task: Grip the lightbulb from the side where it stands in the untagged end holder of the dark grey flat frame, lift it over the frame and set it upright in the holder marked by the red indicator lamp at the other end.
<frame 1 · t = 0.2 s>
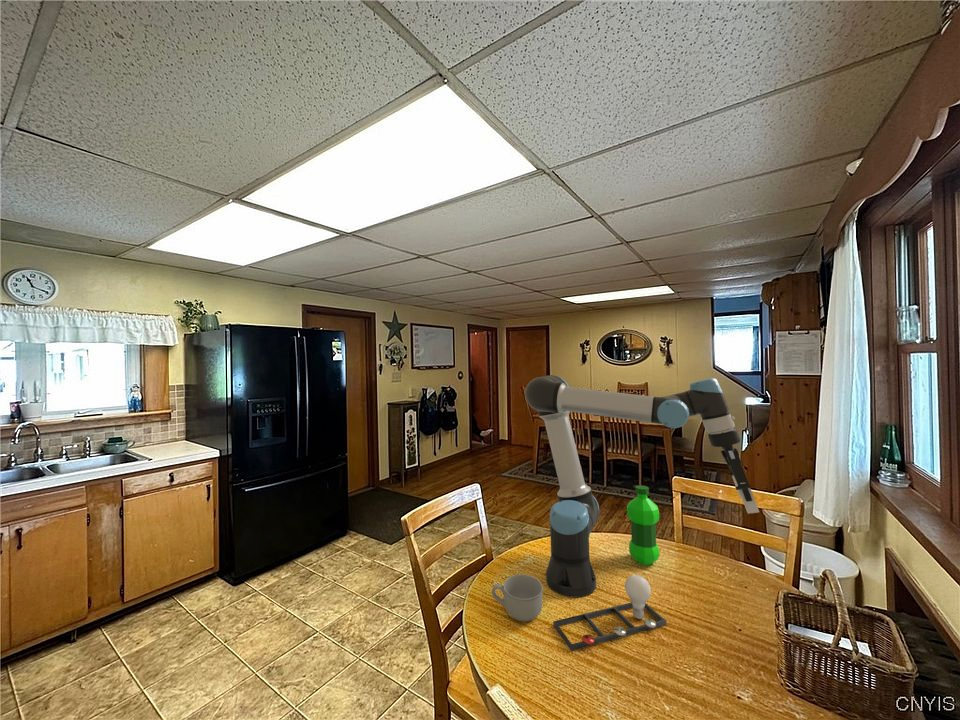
hand: (749, 504, 107), 27 cm above the table, fingers open, 13 cm apart
teacup: (517, 614, 103), on the table
lightbulb: (638, 618, 100), resting in dark grey flat frame
dark grey flat frame: (609, 625, 97), on the table
plastic bottle: (644, 561, 128), on the table
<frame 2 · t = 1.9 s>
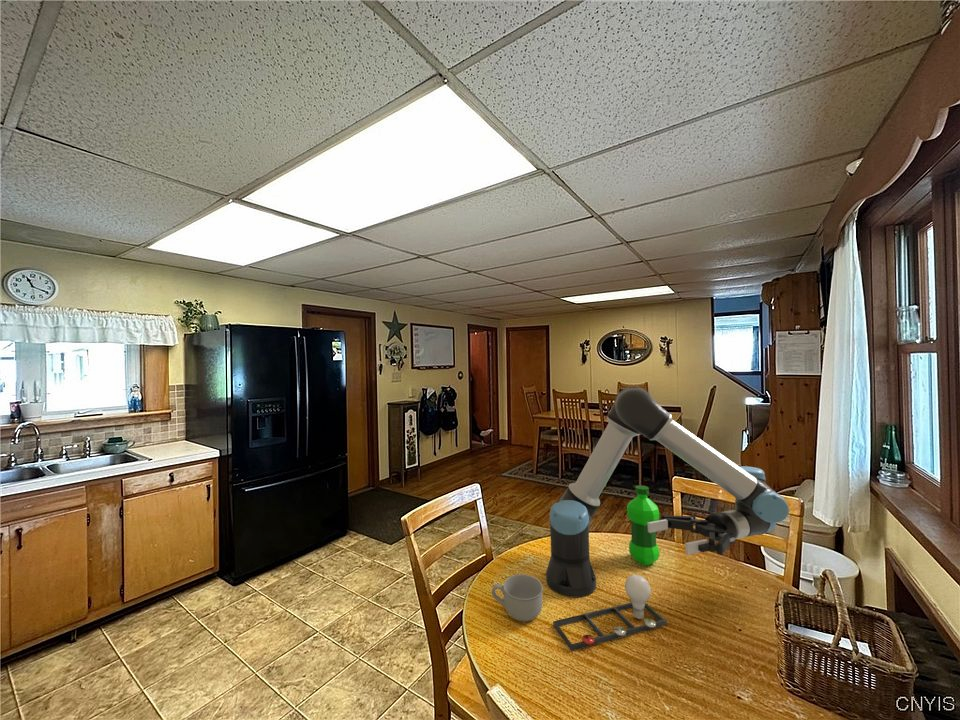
hand: (666, 537, 103), 20 cm above the table, fingers open, 13 cm apart
nothing on the table moved.
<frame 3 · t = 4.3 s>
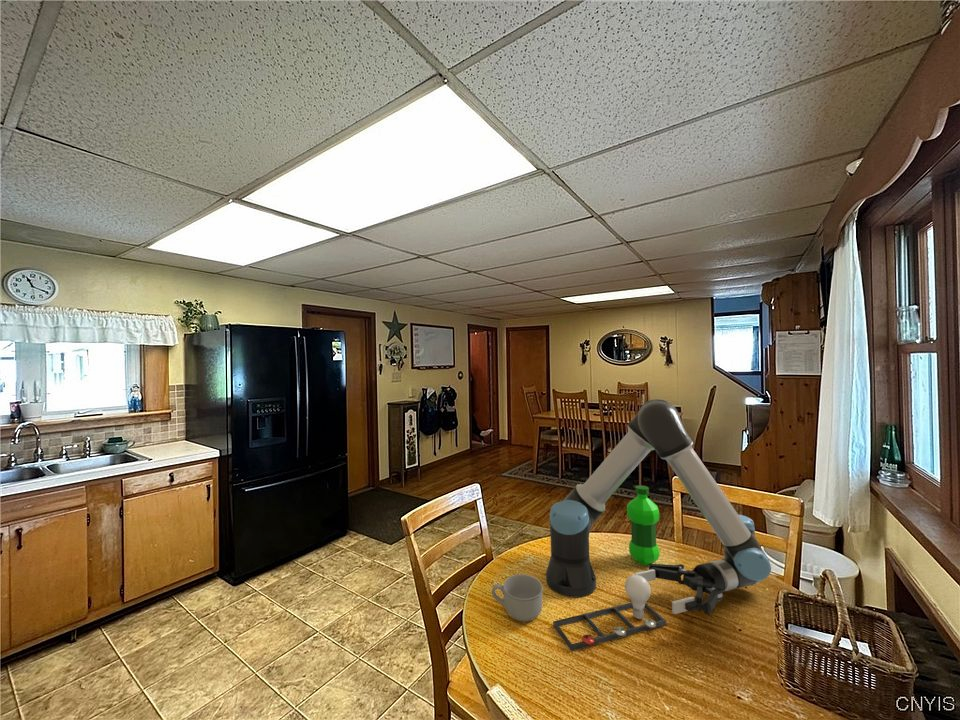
hand: (653, 592, 101), 6 cm above the table, fingers open, 13 cm apart
nothing on the table moved.
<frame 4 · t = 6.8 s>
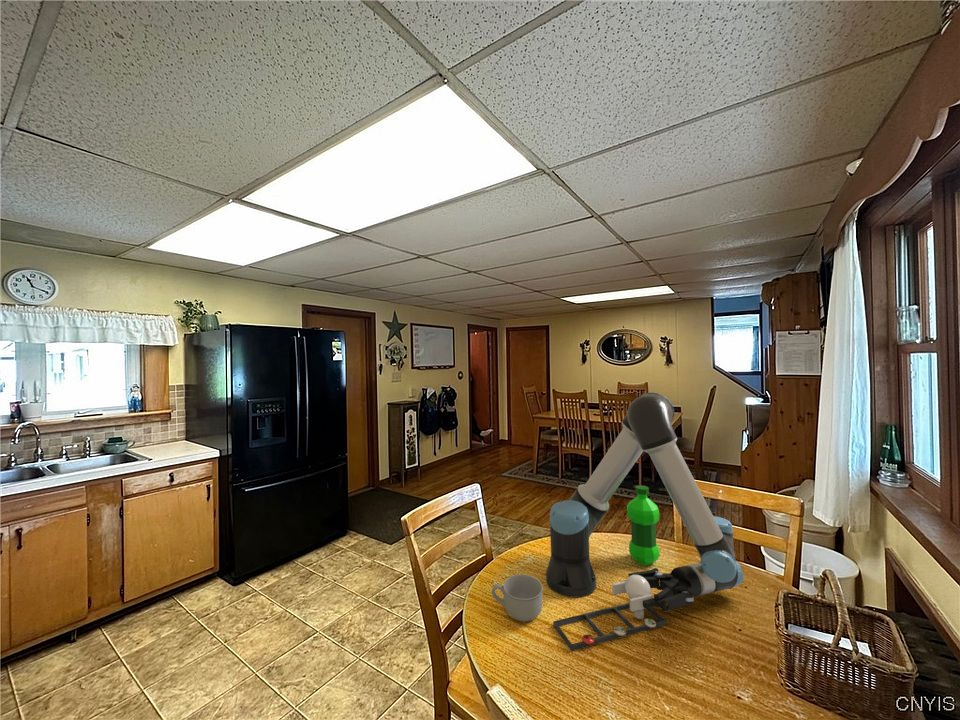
hand: (621, 597, 99), 7 cm above the table, fingers closed on lightbulb, 6 cm apart
lightbulb: (638, 618, 100), resting in dark grey flat frame, touching gripper
everything else where it was.
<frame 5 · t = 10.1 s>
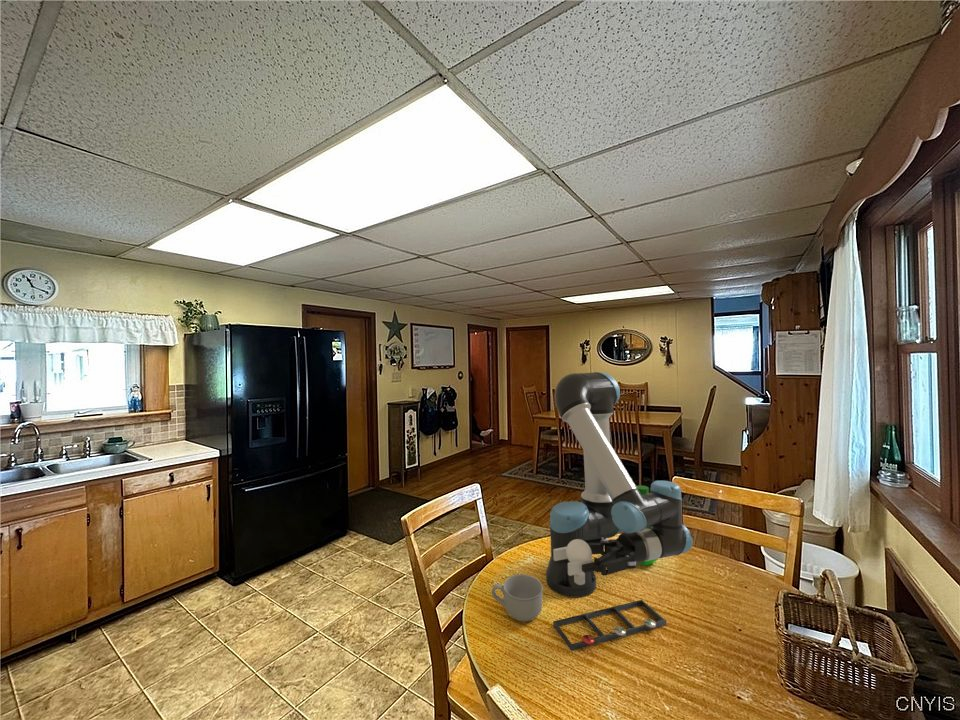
hand: (561, 561, 93), 19 cm above the table, fingers closed on lightbulb, 6 cm apart
lightbulb: (579, 585, 95), point 12 cm above the table, touching gripper
everything else where it was.
when the fingers open (8 cm above the table, at t = 13.6 s): lightbulb drops 1 cm, resting in dark grey flat frame.
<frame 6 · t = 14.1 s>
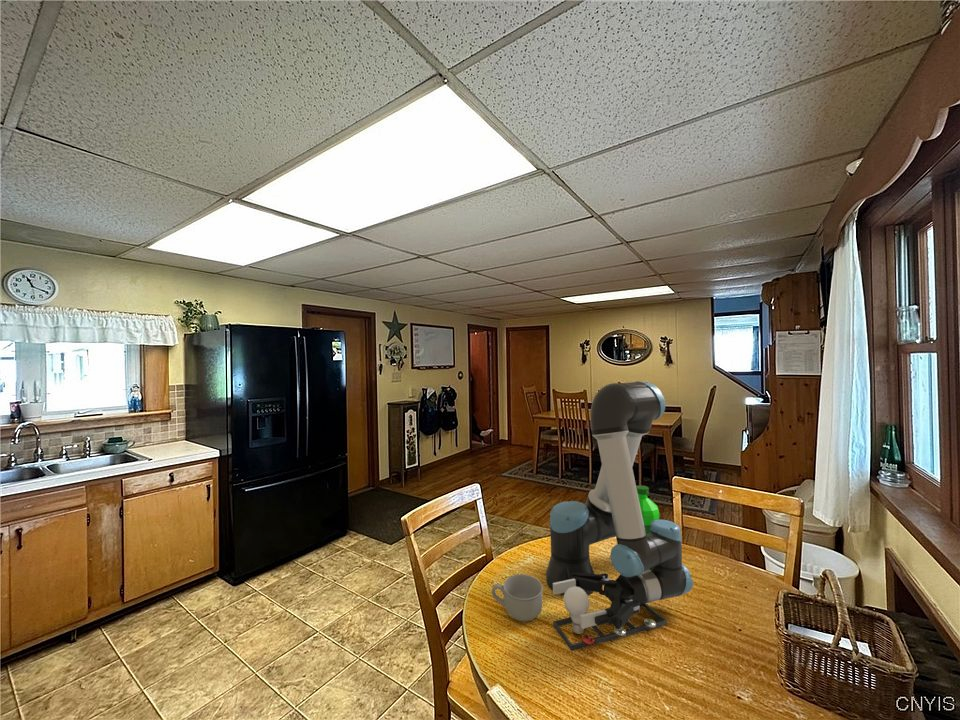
hand: (566, 604, 94), 8 cm above the table, fingers open, 13 cm apart
lightbulb: (578, 633, 95), resting in dark grey flat frame
everything else where it was.
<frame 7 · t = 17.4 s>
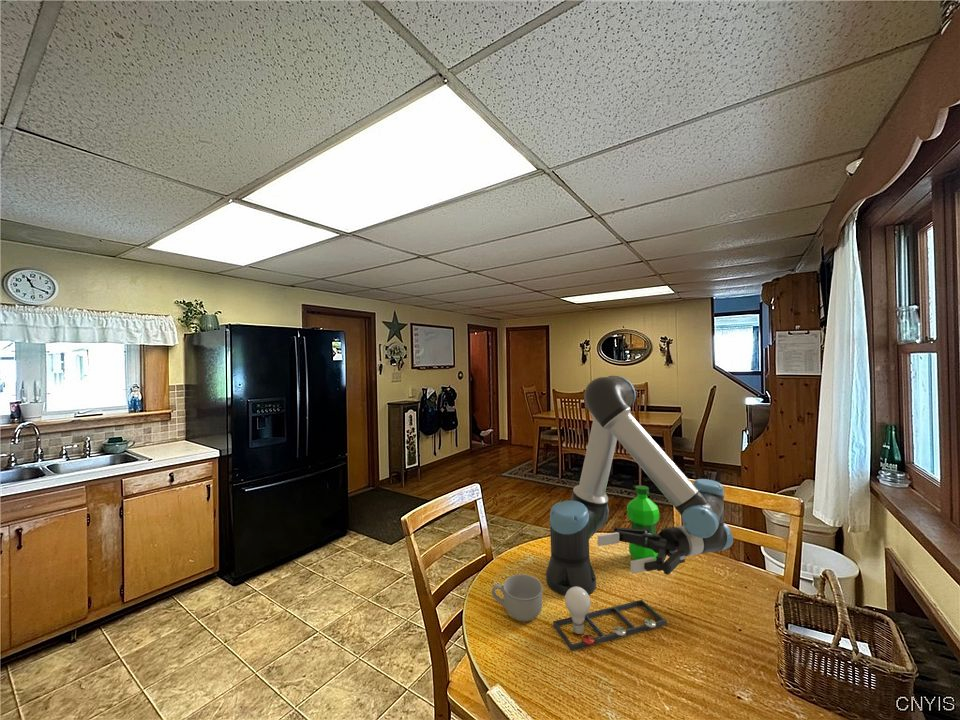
hand: (613, 553, 97), 19 cm above the table, fingers open, 13 cm apart
nothing on the table moved.
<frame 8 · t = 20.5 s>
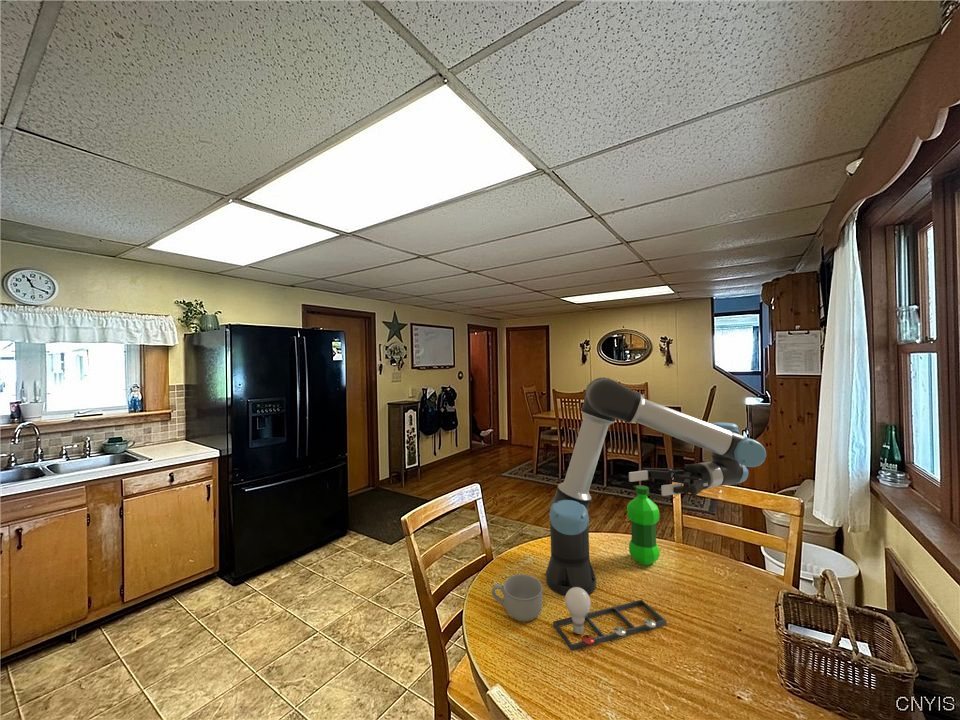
hand: (645, 483, 111), 32 cm above the table, fingers open, 13 cm apart
nothing on the table moved.
at the end: lightbulb 0.3 cm from the target spot on the dark grey flat frame, point 0.0 cm above the dark grey flat frame's base; lightbulb tilted 1°; the gripper is holding nothing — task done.
